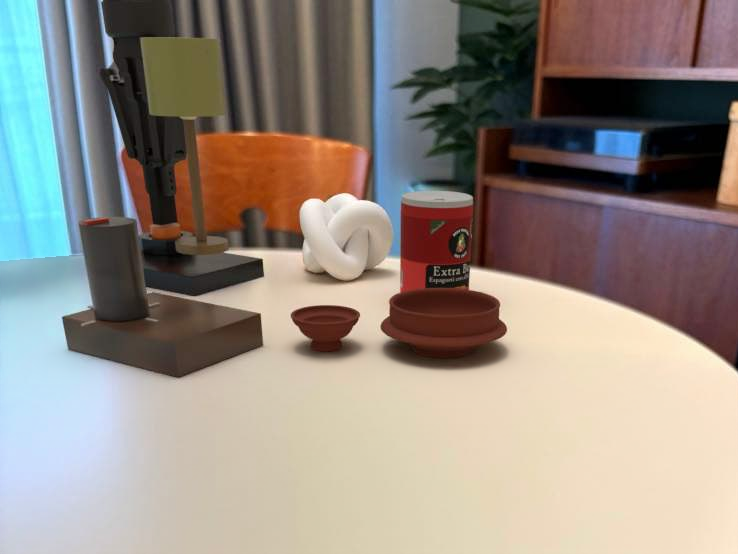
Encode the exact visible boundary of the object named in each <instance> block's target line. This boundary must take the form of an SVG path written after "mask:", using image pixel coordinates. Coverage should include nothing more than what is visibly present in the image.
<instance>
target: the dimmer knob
mask: <svg viewBox="0 0 738 554" xmlns="http://www.w3.org/2000/svg"><path fill="white" fill-rule="evenodd" d="M77 224H78V230H79V236H80V243H81V246H82V247H81V248H82V251H83V252H82V253H83V259H84V264H85V265H84V266H85V270H86V276H87V281H88V286H89V293H90V299H91V304H92V306H93V310H94V315H95V317H96V318H97V319H100V320H104V321H129V320H135V319H139V318H143V317H145V316H147V315H148V314H149V313H150V312H149V305H148V298H147V294H148V292H147V291H148V290H147V287H146V284H145V277H144V270H143V263H142V256H141V249H140V242H139V235H140V234H139V228H138V221H137V219H135V218H133V217H125V216H99V217H91V218H85V219H81V220H79V221H78V223H77Z"/></svg>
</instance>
